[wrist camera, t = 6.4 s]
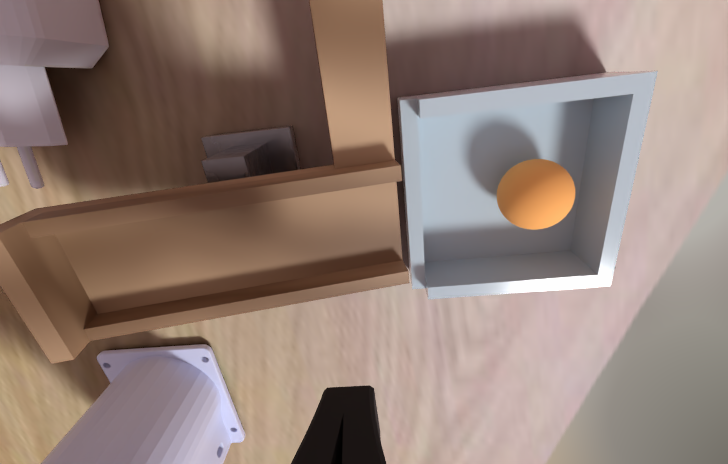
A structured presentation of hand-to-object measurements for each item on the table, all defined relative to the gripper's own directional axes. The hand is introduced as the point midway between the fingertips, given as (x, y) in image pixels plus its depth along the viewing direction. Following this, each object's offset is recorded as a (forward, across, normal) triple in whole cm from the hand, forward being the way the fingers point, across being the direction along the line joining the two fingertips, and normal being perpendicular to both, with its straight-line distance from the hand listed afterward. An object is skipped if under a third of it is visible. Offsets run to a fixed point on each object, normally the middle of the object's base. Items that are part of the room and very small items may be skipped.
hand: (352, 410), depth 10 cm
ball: (+8, -8, -3) cm, 12 cm away
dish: (+10, -7, -3) cm, 13 cm away
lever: (+6, +5, -7) cm, 11 cm away
